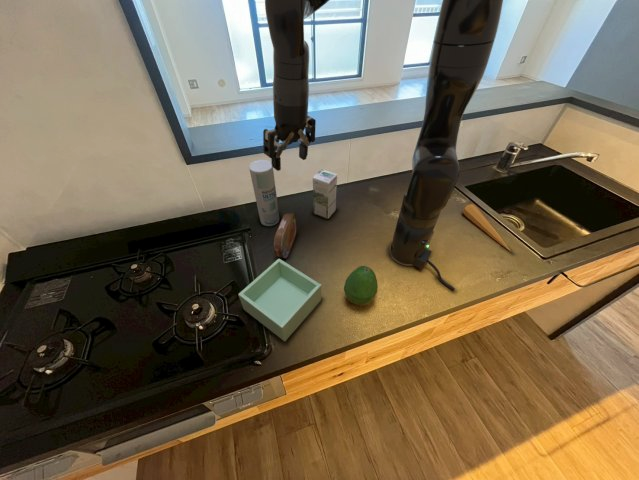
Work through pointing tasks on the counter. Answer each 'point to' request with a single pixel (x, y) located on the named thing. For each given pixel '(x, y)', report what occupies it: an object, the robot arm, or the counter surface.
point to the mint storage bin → (281, 298)
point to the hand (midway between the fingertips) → (290, 163)
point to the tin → (285, 235)
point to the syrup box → (324, 193)
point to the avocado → (361, 286)
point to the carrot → (482, 223)
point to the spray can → (265, 191)
